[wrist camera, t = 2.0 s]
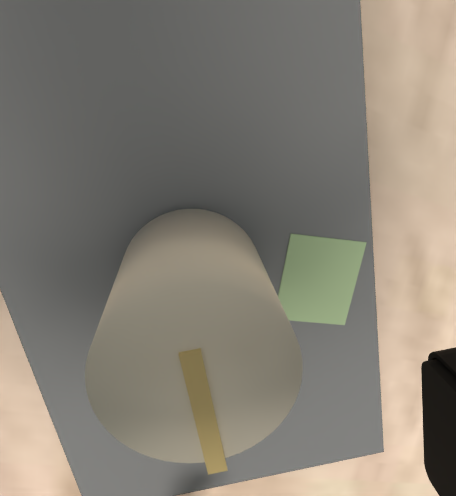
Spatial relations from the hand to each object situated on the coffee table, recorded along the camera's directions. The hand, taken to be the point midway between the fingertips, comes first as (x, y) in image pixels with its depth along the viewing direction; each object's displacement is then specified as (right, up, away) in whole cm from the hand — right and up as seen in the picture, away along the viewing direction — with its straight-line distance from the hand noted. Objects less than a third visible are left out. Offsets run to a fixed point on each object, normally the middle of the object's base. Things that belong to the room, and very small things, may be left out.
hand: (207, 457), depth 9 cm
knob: (-1, +2, +8) cm, 8 cm away
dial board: (-1, +4, +9) cm, 10 cm away
